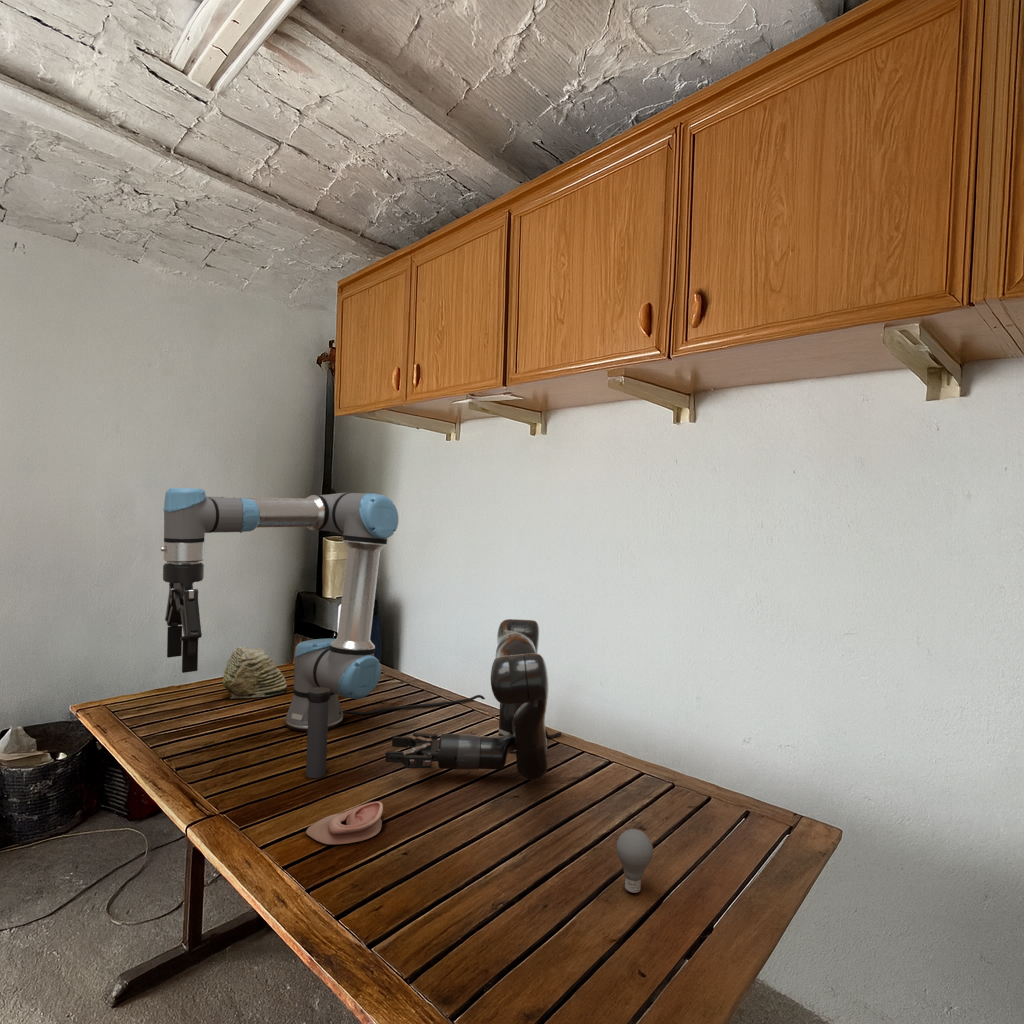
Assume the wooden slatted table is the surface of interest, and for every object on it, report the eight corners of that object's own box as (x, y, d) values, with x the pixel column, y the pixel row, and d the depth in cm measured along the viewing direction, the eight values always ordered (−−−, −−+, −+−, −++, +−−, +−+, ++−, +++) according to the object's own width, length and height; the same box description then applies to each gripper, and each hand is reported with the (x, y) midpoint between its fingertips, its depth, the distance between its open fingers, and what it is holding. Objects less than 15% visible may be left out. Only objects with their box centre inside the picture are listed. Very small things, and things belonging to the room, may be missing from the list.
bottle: (324, 778, 143) (327, 695, 142) (304, 778, 142) (307, 695, 142) (327, 769, 147) (330, 689, 147) (307, 770, 146) (310, 689, 146)
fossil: (218, 695, 195) (220, 647, 195) (278, 685, 208) (279, 640, 207) (228, 703, 189) (230, 653, 188) (289, 692, 201) (290, 645, 201)
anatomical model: (298, 818, 116) (328, 791, 128) (297, 839, 116) (327, 810, 128) (365, 829, 114) (390, 800, 125) (364, 851, 114) (389, 820, 125)
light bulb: (610, 879, 108) (613, 822, 108) (644, 879, 109) (647, 822, 109) (619, 902, 102) (622, 840, 102) (655, 901, 103) (658, 840, 103)
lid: (328, 702, 142) (329, 693, 142) (305, 702, 141) (306, 693, 141) (331, 695, 147) (331, 686, 147) (309, 695, 146) (309, 686, 146)
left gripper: (151, 556, 139) (149, 653, 139) (177, 570, 119) (175, 681, 120) (188, 555, 143) (187, 648, 144) (220, 568, 124) (217, 675, 125)
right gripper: (462, 724, 151) (394, 721, 151) (459, 747, 137) (383, 744, 137) (461, 755, 151) (393, 752, 151) (457, 781, 137) (382, 779, 137)
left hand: (181, 663), depth 132 cm, fingers open, 13 cm apart
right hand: (389, 748), depth 144 cm, fingers open, 8 cm apart
